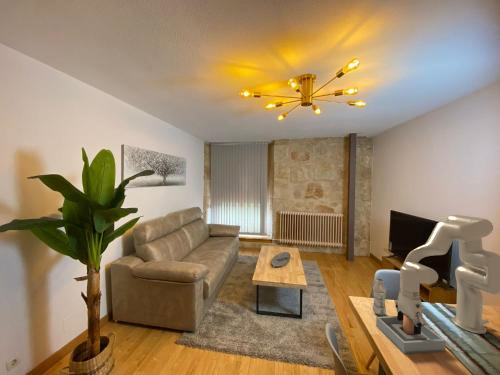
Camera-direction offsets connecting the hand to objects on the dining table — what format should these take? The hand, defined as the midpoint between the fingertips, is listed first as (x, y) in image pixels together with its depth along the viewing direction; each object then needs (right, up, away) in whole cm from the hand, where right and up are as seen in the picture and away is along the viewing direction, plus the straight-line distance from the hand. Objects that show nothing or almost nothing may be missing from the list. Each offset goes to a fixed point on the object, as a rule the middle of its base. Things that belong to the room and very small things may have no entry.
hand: (408, 326), depth 103 cm
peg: (0, -5, 0) cm, 5 cm away
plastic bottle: (-3, -5, +19) cm, 20 cm away
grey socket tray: (0, -6, 0) cm, 6 cm away
